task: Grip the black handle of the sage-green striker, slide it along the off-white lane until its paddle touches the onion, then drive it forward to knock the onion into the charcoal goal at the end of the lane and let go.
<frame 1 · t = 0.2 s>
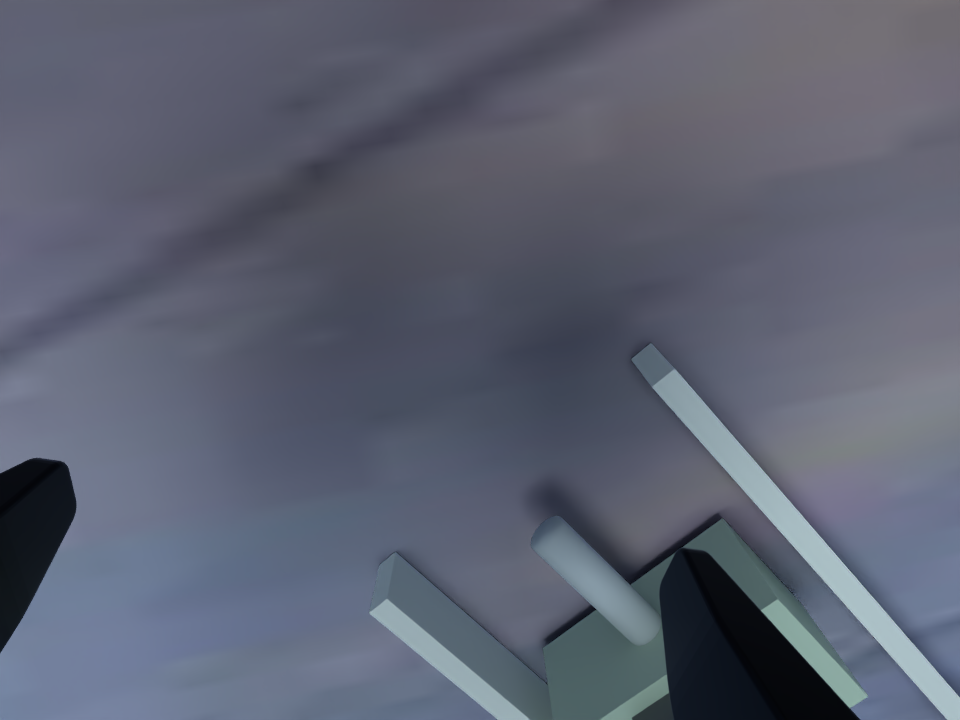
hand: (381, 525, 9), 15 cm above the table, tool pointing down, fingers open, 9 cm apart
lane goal: (742, 692, 30), on the table
striker: (666, 688, 22), point 6 cm above the table, slide at 0.0 cm
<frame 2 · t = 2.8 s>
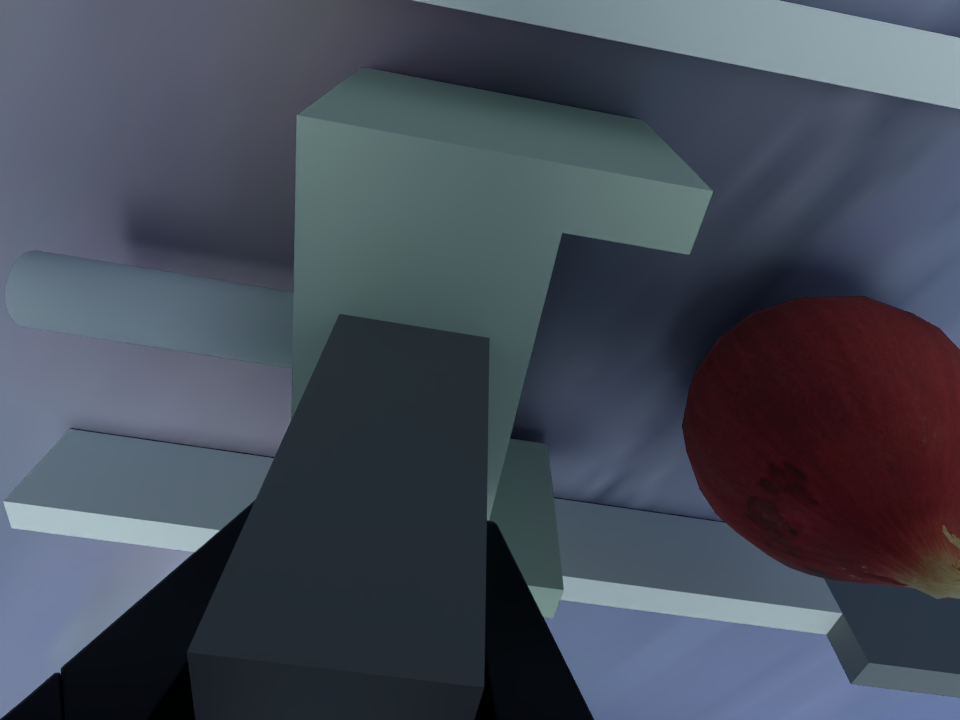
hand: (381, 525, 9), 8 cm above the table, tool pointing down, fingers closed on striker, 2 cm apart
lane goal: (691, 332, 17), on the table
onion: (760, 340, 17), resting in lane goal
striker: (283, 421, 11), point 6 cm above the table, slide at 0.0 cm, touching gripper
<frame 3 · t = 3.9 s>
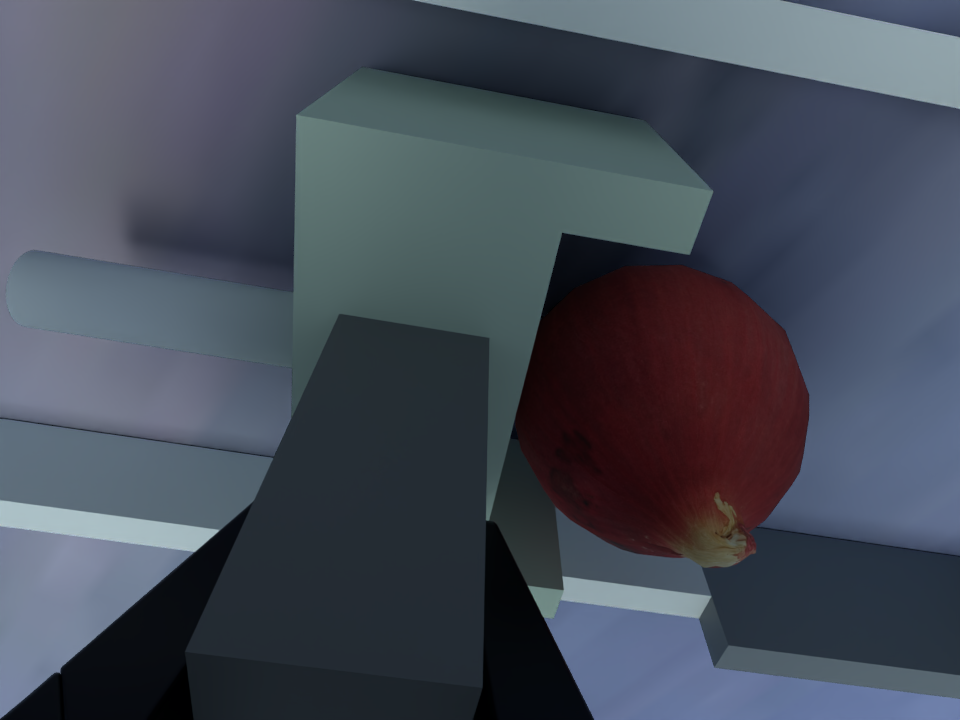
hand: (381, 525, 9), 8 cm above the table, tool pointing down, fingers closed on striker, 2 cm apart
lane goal: (547, 309, 16), on the table
onion: (620, 317, 17), resting in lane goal
striker: (283, 421, 11), point 6 cm above the table, slide at 3.9 cm, touching gripper
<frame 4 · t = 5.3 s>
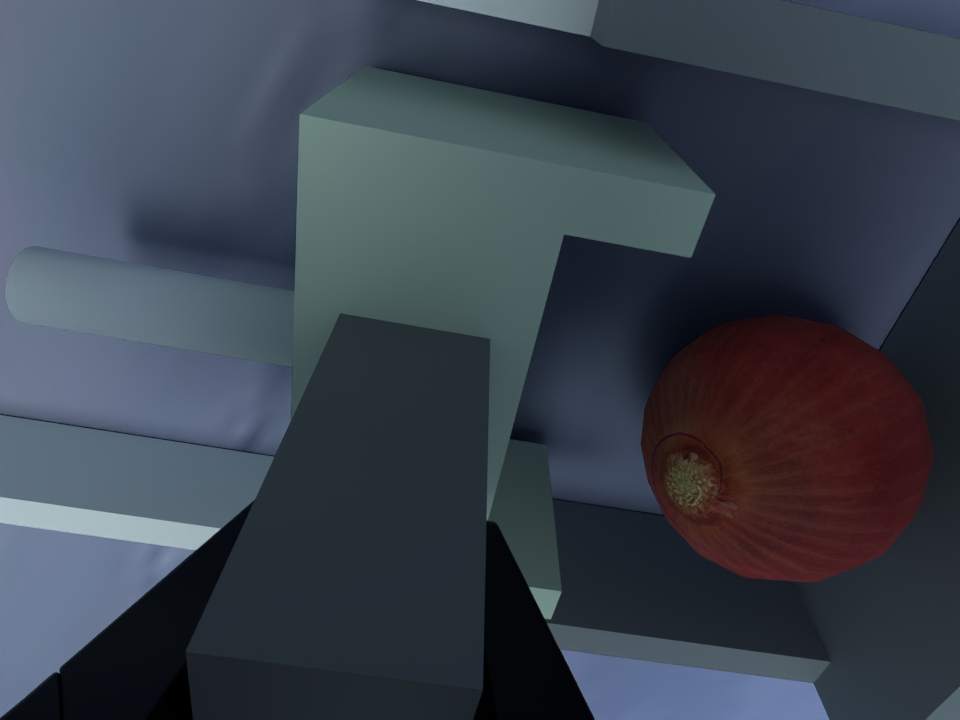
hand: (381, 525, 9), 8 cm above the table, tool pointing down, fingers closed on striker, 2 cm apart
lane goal: (273, 261, 16), on the table
onion: (675, 500, 12), point 6 cm above the table
striker: (283, 420, 11), point 6 cm above the table, slide at 11.0 cm, touching gripper
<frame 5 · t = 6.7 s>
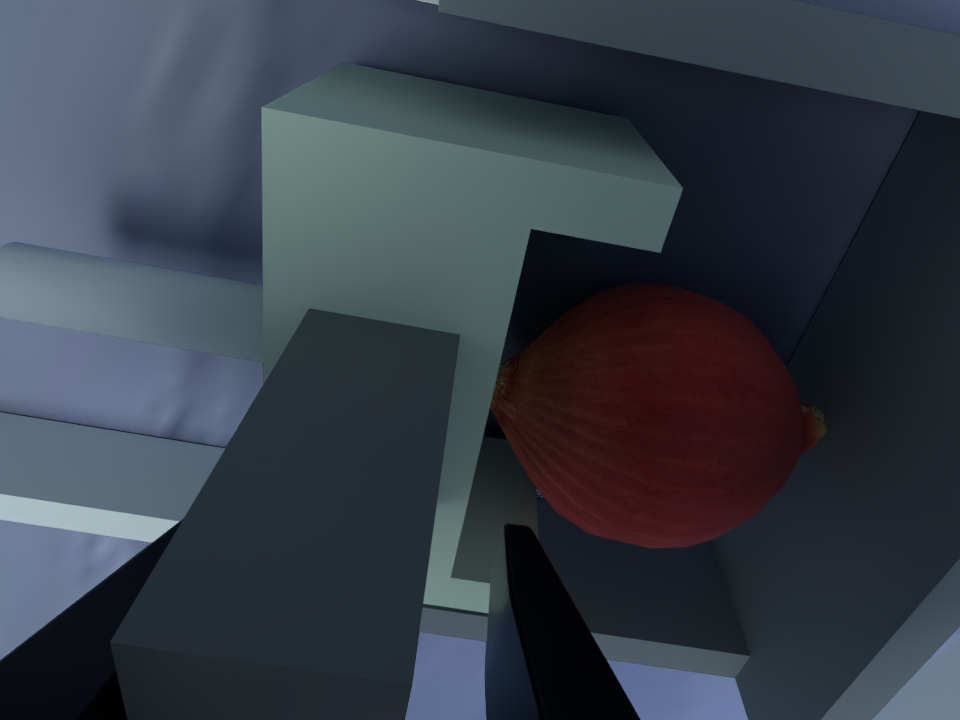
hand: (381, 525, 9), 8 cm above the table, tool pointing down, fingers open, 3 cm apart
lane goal: (182, 245, 16), on the table
onion: (478, 392, 14), point 3 cm above the table, touching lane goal, striker
striker: (254, 415, 11), point 6 cm above the table, slide at 12.9 cm, touching gripper, onion
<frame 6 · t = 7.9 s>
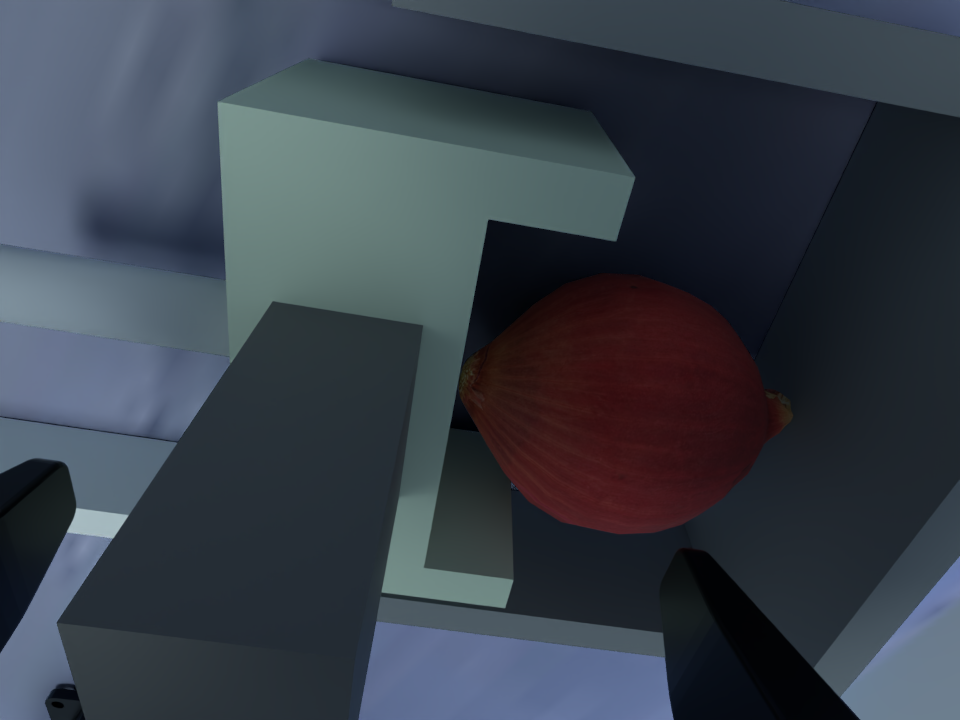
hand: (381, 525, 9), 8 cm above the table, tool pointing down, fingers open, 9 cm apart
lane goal: (153, 243, 16), on the table
onion: (449, 383, 14), point 3 cm above the table, touching striker
striker: (221, 408, 11), point 6 cm above the table, slide at 12.9 cm, touching onion
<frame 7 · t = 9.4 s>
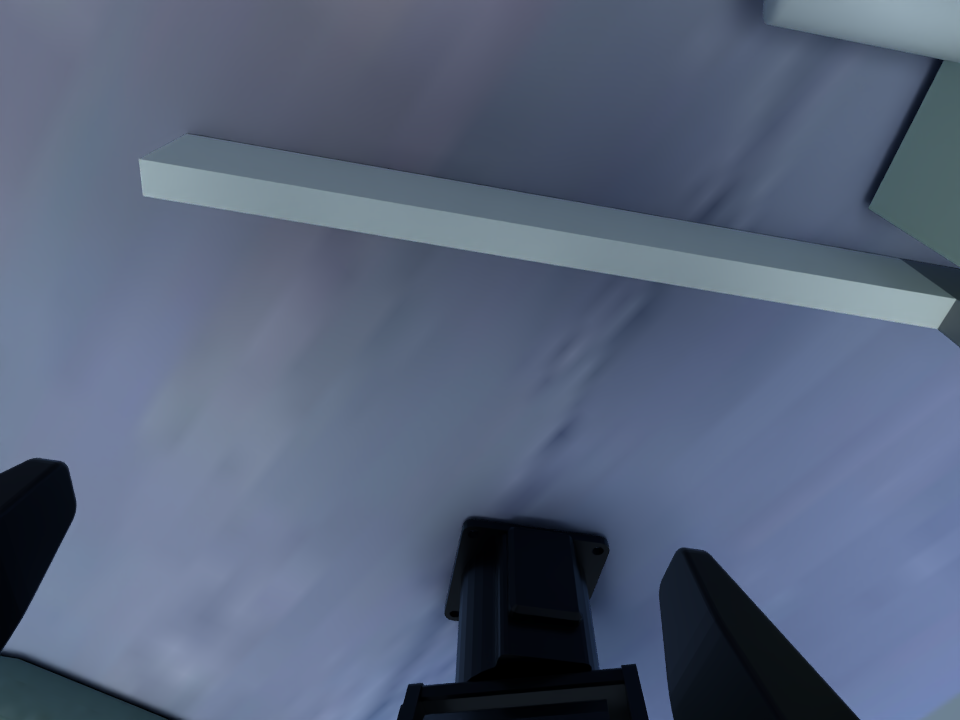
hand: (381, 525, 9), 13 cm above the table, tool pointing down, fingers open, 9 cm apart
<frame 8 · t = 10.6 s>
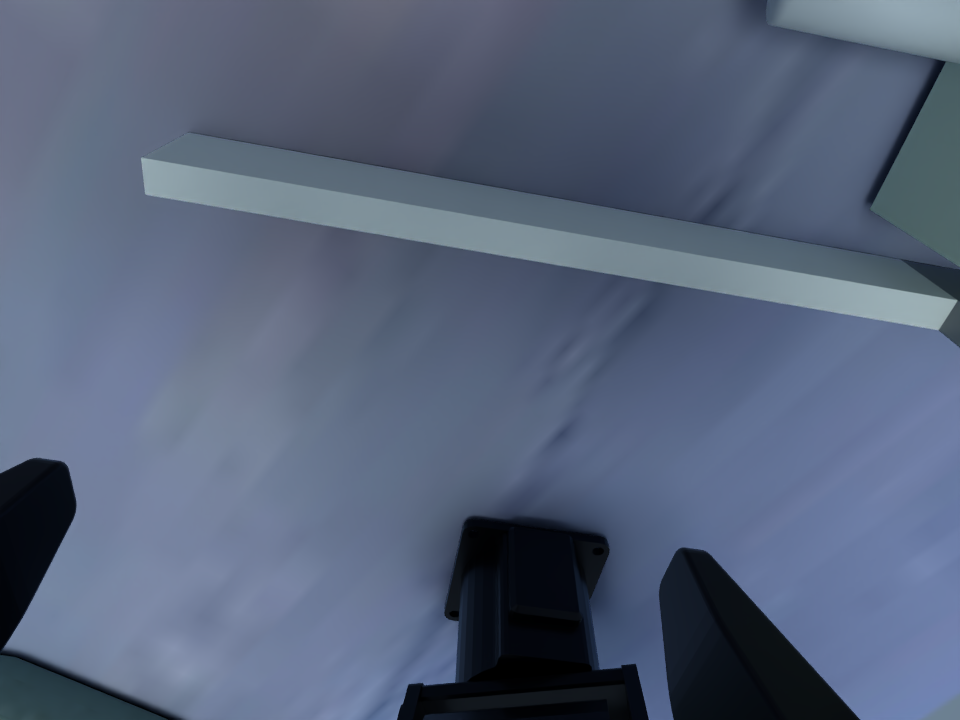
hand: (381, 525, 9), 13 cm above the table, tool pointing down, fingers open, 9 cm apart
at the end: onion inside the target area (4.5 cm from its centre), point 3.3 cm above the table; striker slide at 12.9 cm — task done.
